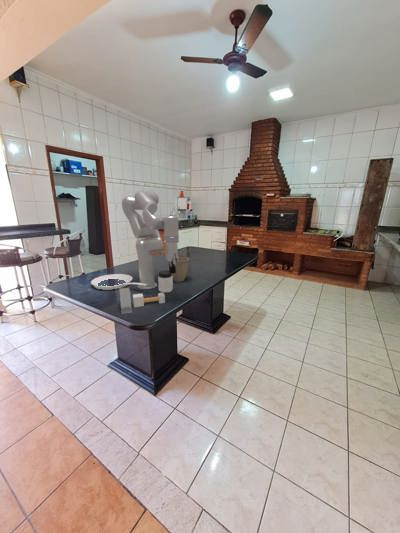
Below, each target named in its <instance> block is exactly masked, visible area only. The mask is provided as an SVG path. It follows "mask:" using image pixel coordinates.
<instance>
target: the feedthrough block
mask: <svg viewBox="0 0 400 533" xmlns="http://www.w3.org/2000/svg"><path fill="white" fill-rule="evenodd" d="M118 290H119V299H120V300H119V301H120V312H121V315H125V314H130V313H133V309H132V300H131V299H132V298H131V291H130V287H123V288H120V289H118Z"/></svg>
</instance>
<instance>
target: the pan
mask: <svg viewBox="0 0 400 533" xmlns="http://www.w3.org/2000/svg"><path fill="white" fill-rule="evenodd" d="M108 279H119V280H124V281H125V282H126V283H123V284H119V283H118V284H119V285H114V286H107V285H106V286H102V285H101V286H98V283H100V282H101V281H104V280H108ZM119 280H118V281H119ZM131 281H133V276H131V275H129V274H125V273H114V274H113V273H111V274H106V275H101V276H98V277H95V278H93V279H92V280H91V281H90V283H91V285H93V287H94V288H95V289H97V290H100V289H102V290H101V291H113V289H115V290H119V289H121V288H127V287H128V286H129V285H136V286H138V285H143V286H146V285H147V284H144V283H140V282H131Z"/></svg>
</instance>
